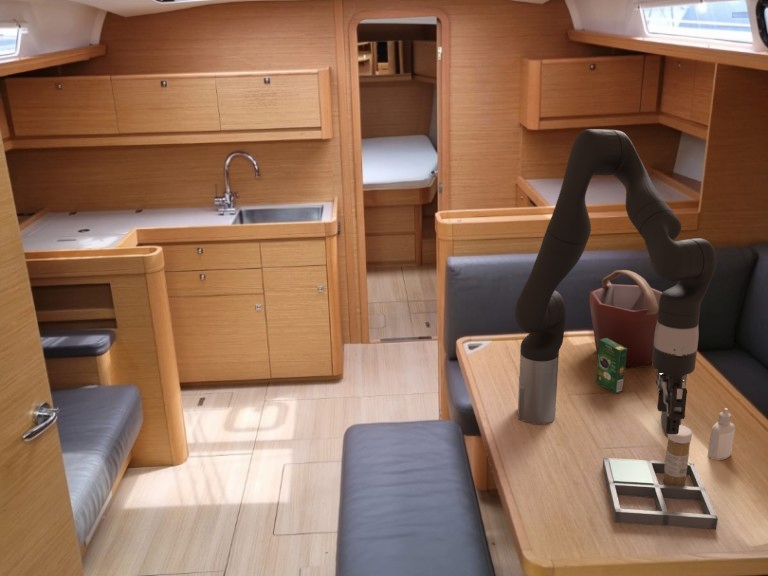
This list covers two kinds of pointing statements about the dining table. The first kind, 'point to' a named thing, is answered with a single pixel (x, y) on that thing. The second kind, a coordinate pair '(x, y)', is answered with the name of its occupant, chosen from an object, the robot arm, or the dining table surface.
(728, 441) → the eye dropper bottle
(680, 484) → the sprinkles bottle
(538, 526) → the dining table surface
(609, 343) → the coffee box
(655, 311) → the bucket
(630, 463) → the organizer
